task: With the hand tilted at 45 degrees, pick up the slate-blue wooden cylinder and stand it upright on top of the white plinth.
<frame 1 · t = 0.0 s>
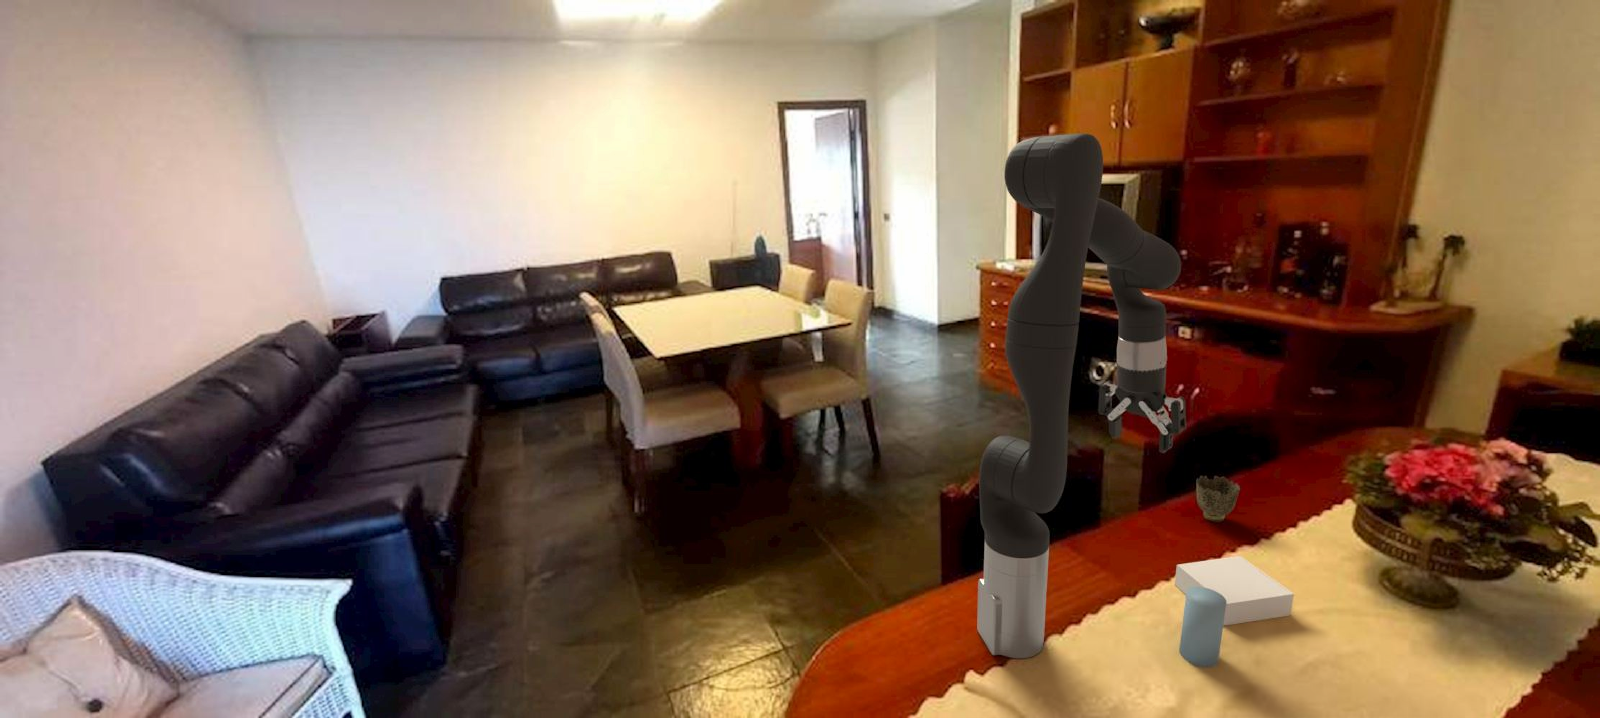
hand: (1139, 443, 119), 22 cm above the table, tool pointing down, fingers open, 8 cm apart
white plinth: (1230, 599, 111), on the table
cup: (1213, 519, 135), on the table
blue cylinder: (1198, 655, 99), on the table
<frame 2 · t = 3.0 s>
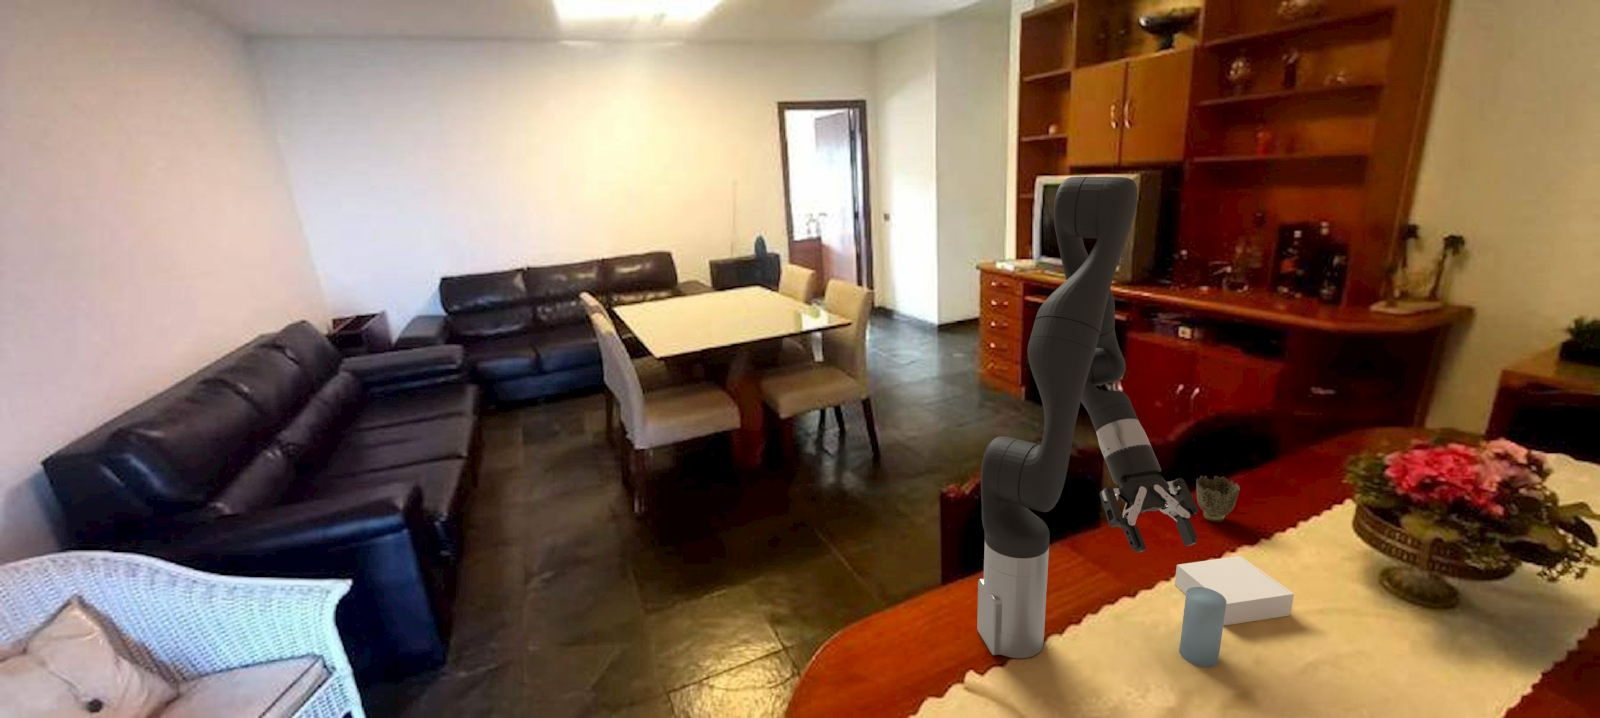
hand: (1166, 547, 104), 13 cm above the table, tool tilted 45°, fingers open, 8 cm apart
nothing on the table moved.
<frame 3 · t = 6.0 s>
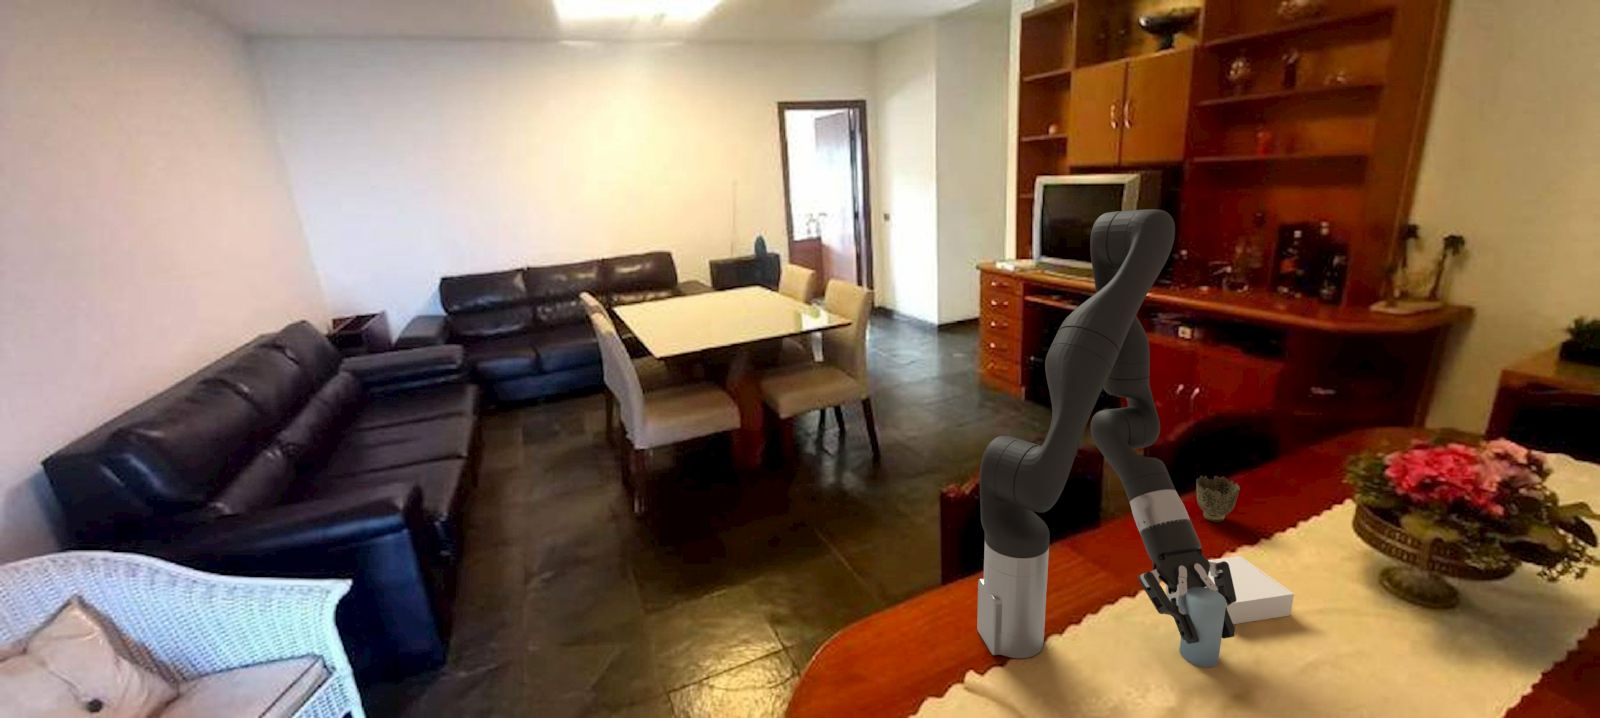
hand: (1211, 639, 96), 4 cm above the table, tool tilted 45°, fingers closed on blue cylinder, 5 cm apart
blue cylinder: (1198, 655, 99), on the table, touching gripper
everything else where it was.
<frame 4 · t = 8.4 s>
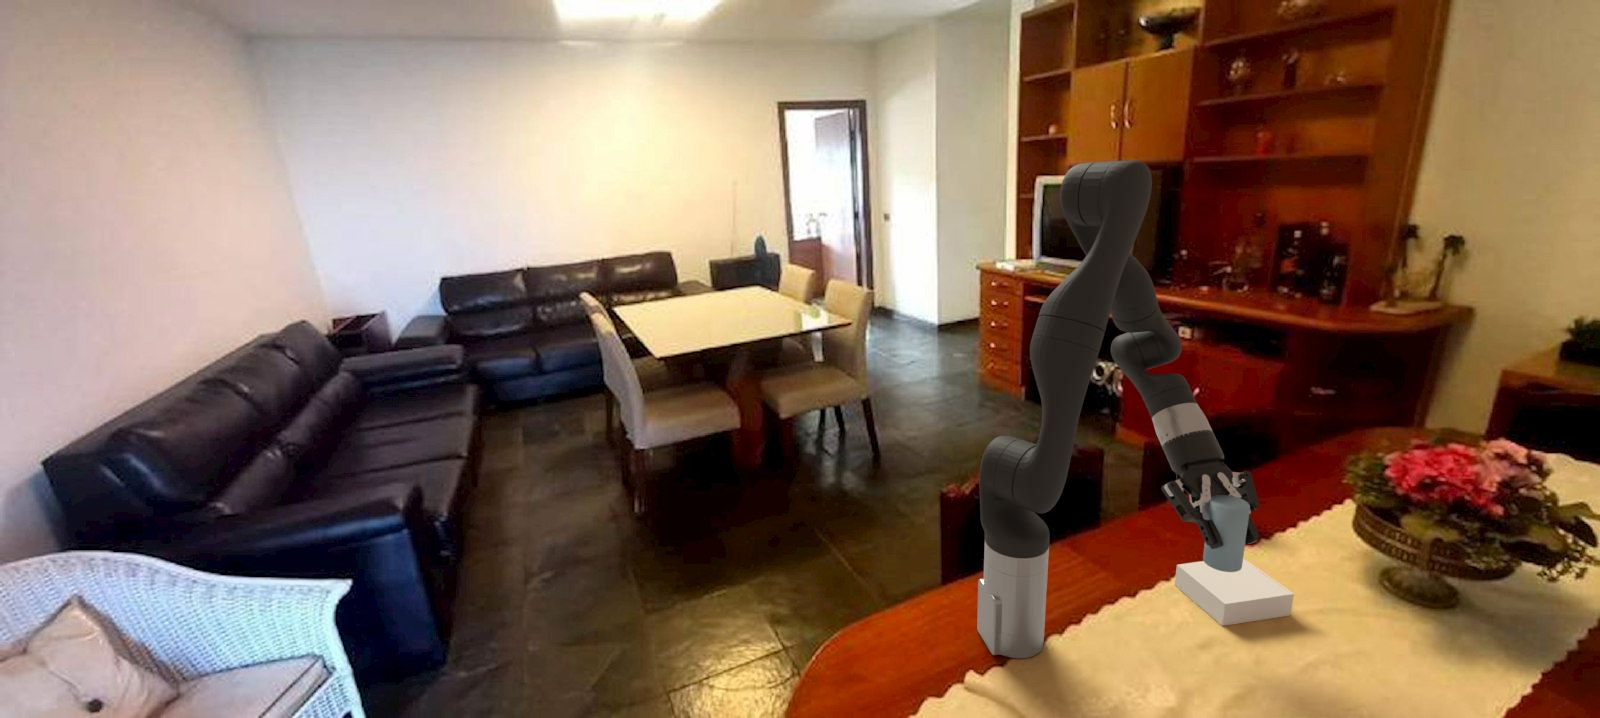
hand: (1235, 544, 97), 16 cm above the table, tool tilted 45°, fingers closed on blue cylinder, 5 cm apart
blue cylinder: (1222, 562, 100), point 12 cm above the table, touching gripper
everything else where it was.
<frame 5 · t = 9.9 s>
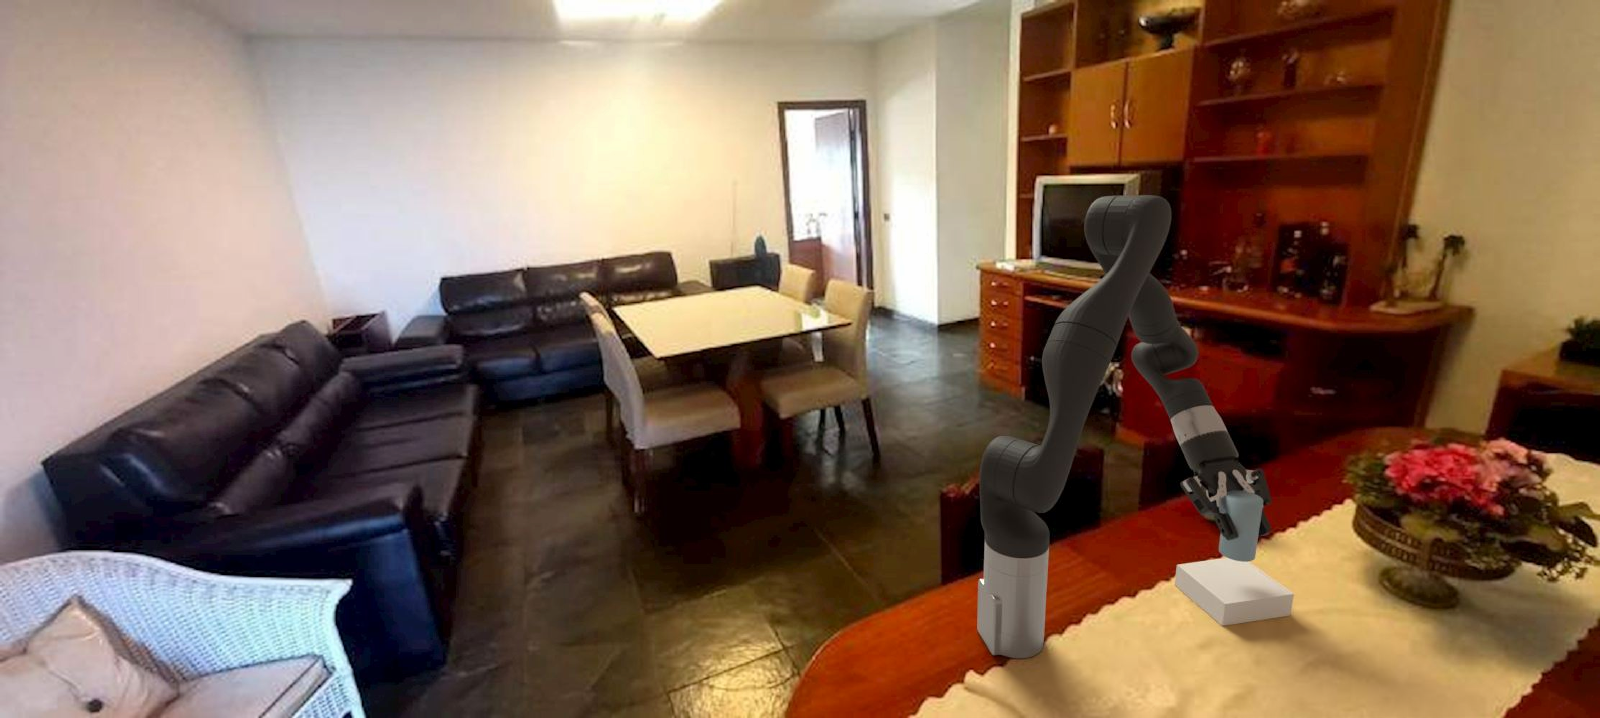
hand: (1248, 536, 106), 13 cm above the table, tool tilted 45°, fingers closed on blue cylinder, 5 cm apart
blue cylinder: (1236, 552, 108), point 9 cm above the table, touching gripper
everything else where it was.
when the fingers open (10 cm above the table, at t = 11.0 s): blue cylinder drops 1 cm, resting on white plinth.
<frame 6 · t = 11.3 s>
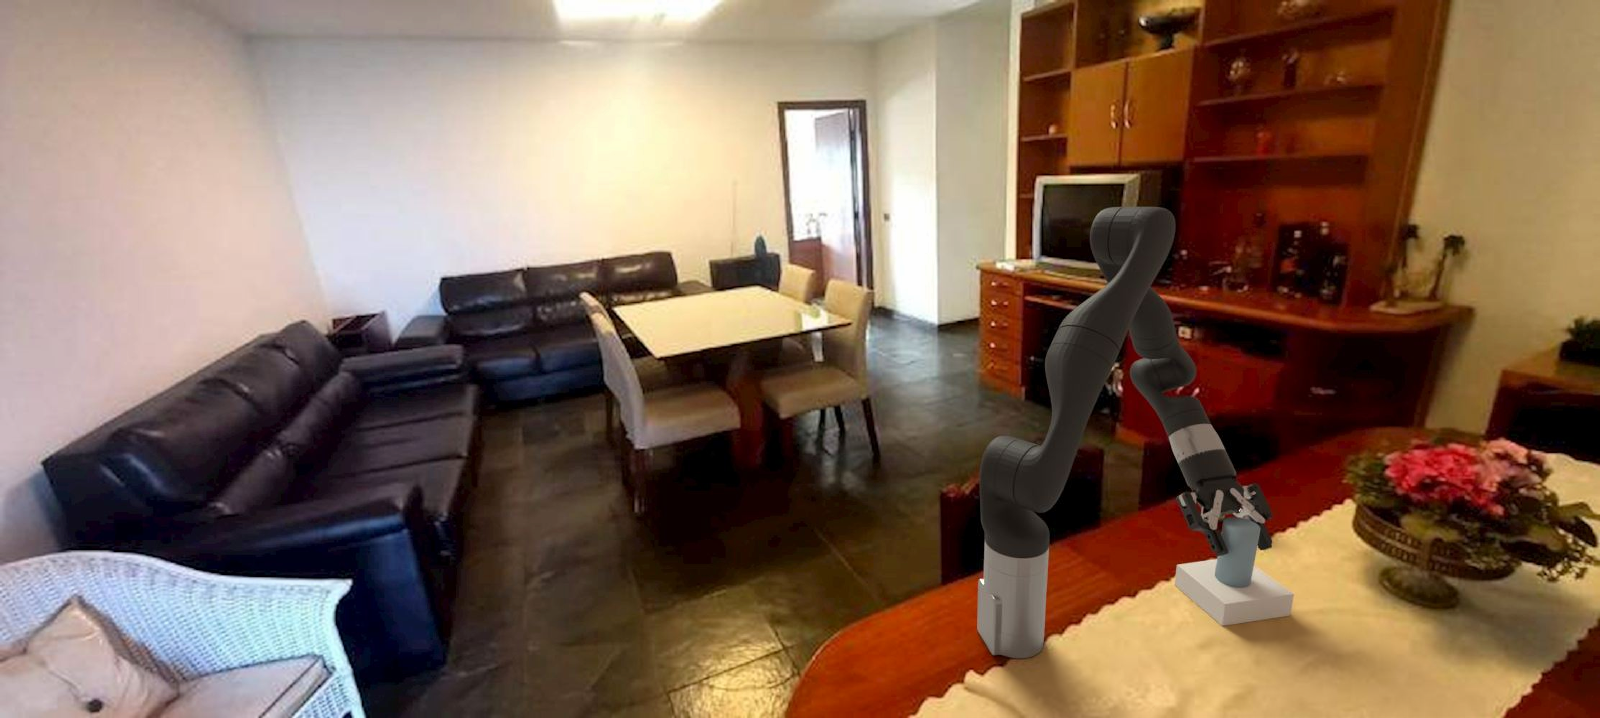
hand: (1245, 551, 107), 10 cm above the table, tool tilted 45°, fingers open, 7 cm apart
blue cylinder: (1232, 578, 110), point 4 cm above the table, touching white plinth
everything else where it was.
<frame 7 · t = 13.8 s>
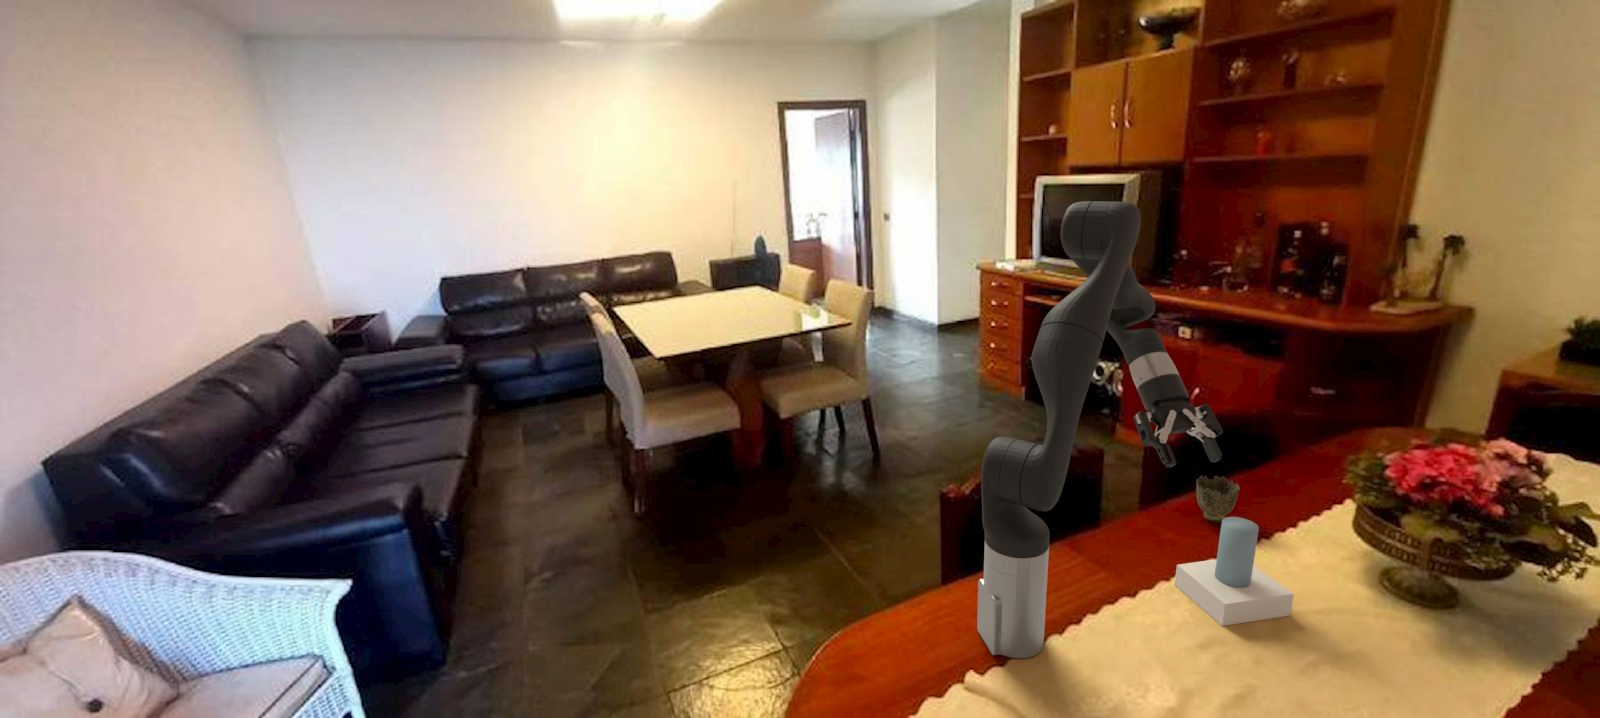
hand: (1194, 463, 116), 20 cm above the table, tool tilted 45°, fingers open, 8 cm apart
nothing on the table moved.
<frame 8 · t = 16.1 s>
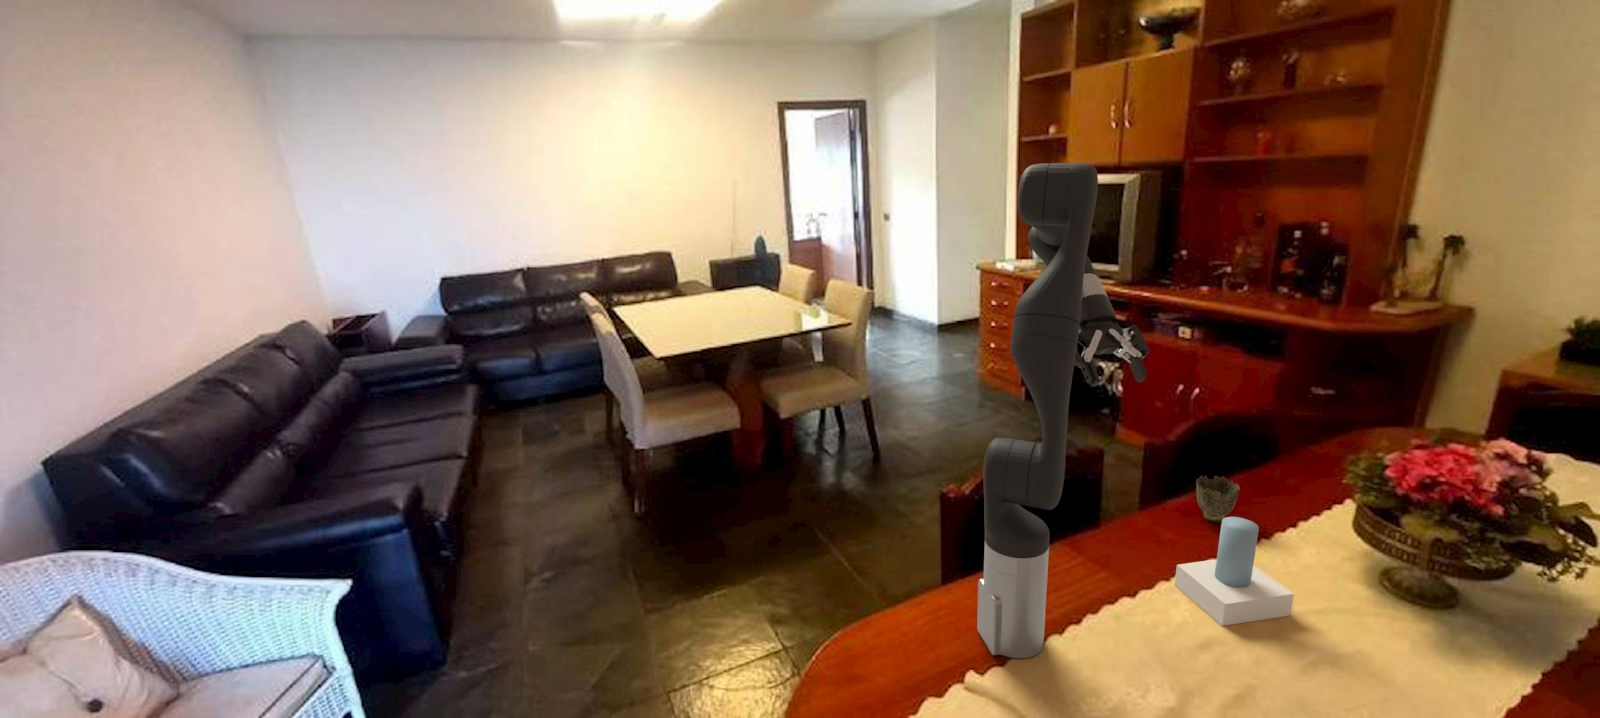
hand: (1119, 382, 114), 35 cm above the table, tool tilted 45°, fingers open, 8 cm apart
nothing on the table moved.
at the end: blue cylinder inside the target area on the white plinth (0.1 cm from its centre), point 4.0 cm above the white plinth's base; blue cylinder tilted 0°; the gripper is holding nothing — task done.
